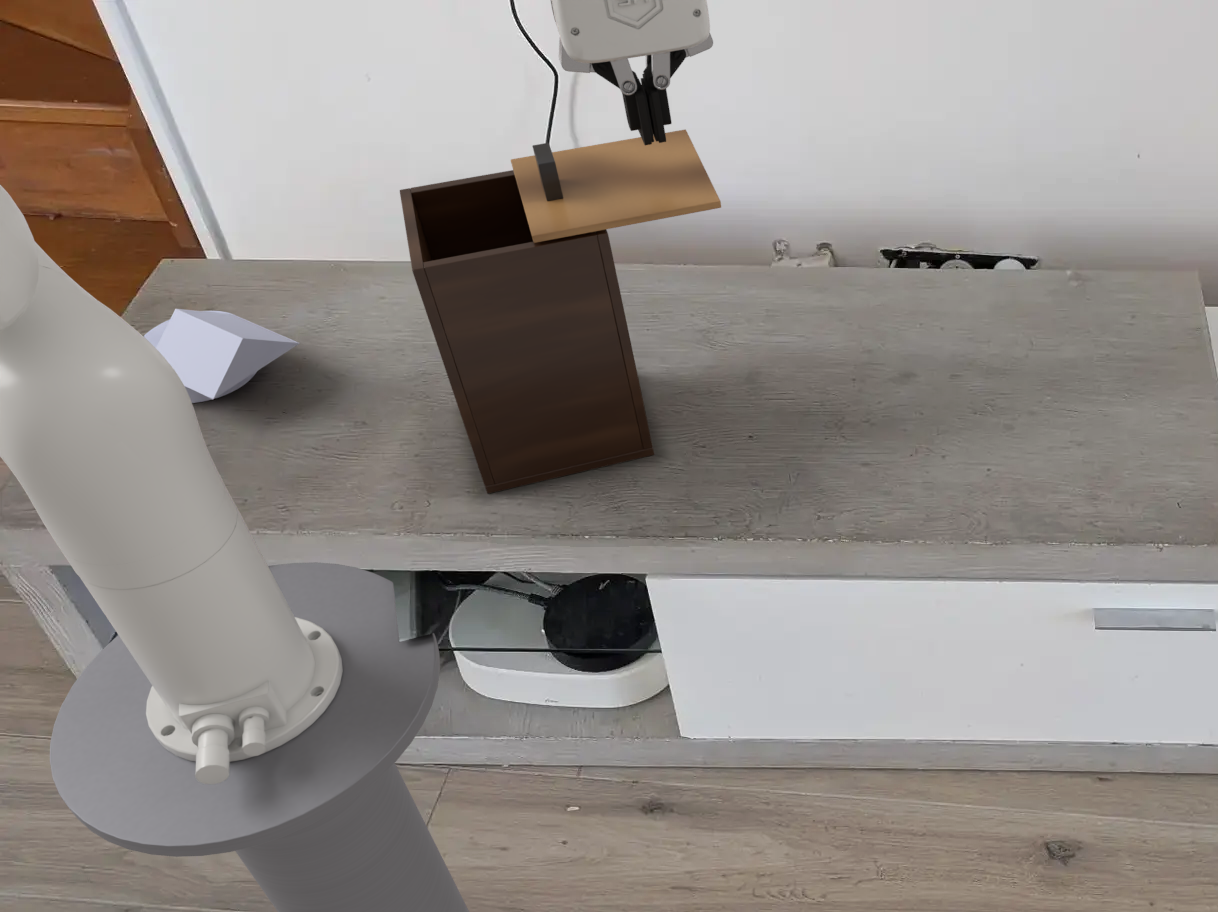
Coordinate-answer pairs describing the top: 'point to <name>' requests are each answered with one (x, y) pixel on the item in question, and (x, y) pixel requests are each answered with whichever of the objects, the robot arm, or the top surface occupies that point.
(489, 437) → the box
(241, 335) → the white faceted chunk
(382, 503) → the top surface
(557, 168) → the lid
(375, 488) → the top surface
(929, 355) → the top surface
